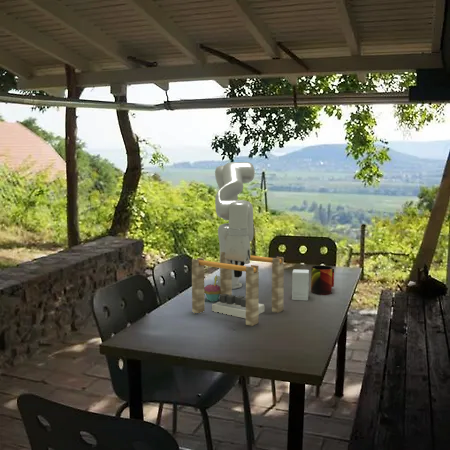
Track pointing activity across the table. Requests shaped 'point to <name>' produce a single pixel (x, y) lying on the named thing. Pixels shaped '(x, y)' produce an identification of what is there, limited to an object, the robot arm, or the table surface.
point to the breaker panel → (233, 306)
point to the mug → (322, 280)
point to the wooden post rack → (251, 287)
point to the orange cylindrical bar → (261, 259)
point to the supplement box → (300, 284)
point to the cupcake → (212, 291)
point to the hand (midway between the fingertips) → (238, 276)
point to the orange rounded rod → (223, 265)
